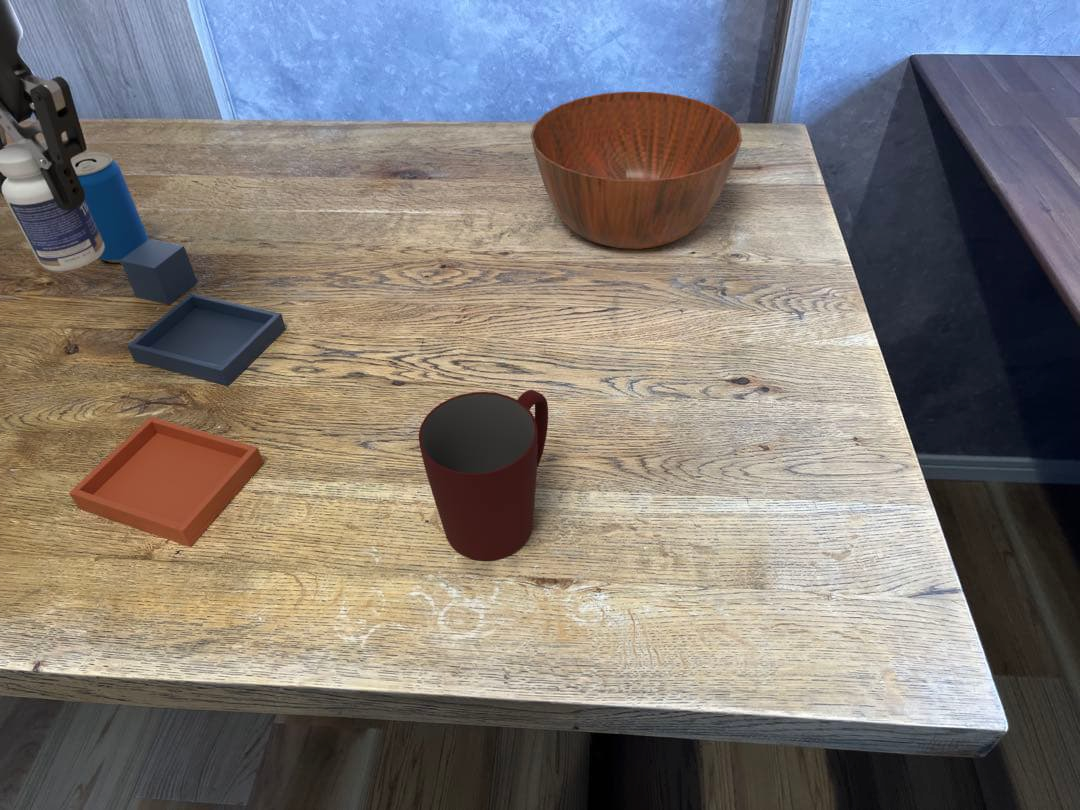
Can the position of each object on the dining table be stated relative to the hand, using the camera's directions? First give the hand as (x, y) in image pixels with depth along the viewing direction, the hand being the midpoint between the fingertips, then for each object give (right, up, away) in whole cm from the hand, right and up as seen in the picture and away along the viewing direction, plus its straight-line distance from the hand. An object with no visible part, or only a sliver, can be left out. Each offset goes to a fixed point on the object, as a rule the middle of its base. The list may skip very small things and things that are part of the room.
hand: (45, 199), depth 67 cm
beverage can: (-12, +2, +36) cm, 38 cm away
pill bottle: (0, -4, +4) cm, 6 cm away
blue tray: (+5, -11, +21) cm, 24 cm away
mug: (+38, -26, +2) cm, 46 cm away
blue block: (-3, -3, +29) cm, 29 cm away
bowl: (+53, +7, +38) cm, 65 cm away
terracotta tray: (+8, -24, +5) cm, 26 cm away
